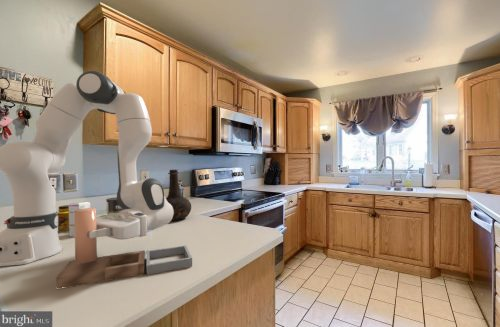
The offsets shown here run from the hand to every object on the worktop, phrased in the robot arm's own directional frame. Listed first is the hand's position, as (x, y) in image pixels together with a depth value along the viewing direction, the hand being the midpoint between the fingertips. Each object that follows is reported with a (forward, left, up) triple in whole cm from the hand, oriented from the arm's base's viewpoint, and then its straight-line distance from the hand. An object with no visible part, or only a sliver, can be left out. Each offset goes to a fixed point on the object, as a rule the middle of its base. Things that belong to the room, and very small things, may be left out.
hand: (82, 233), depth 66 cm
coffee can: (+2, +60, -12) cm, 61 cm away
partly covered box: (+5, +1, -12) cm, 13 cm away
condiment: (-20, +62, -12) cm, 66 cm away
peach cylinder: (+1, +1, -7) cm, 8 cm away
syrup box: (-12, +50, -12) cm, 52 cm away
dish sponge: (-8, +76, -13) cm, 77 cm away
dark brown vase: (+30, +63, -12) cm, 71 cm away
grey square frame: (+22, +1, -12) cm, 25 cm away
